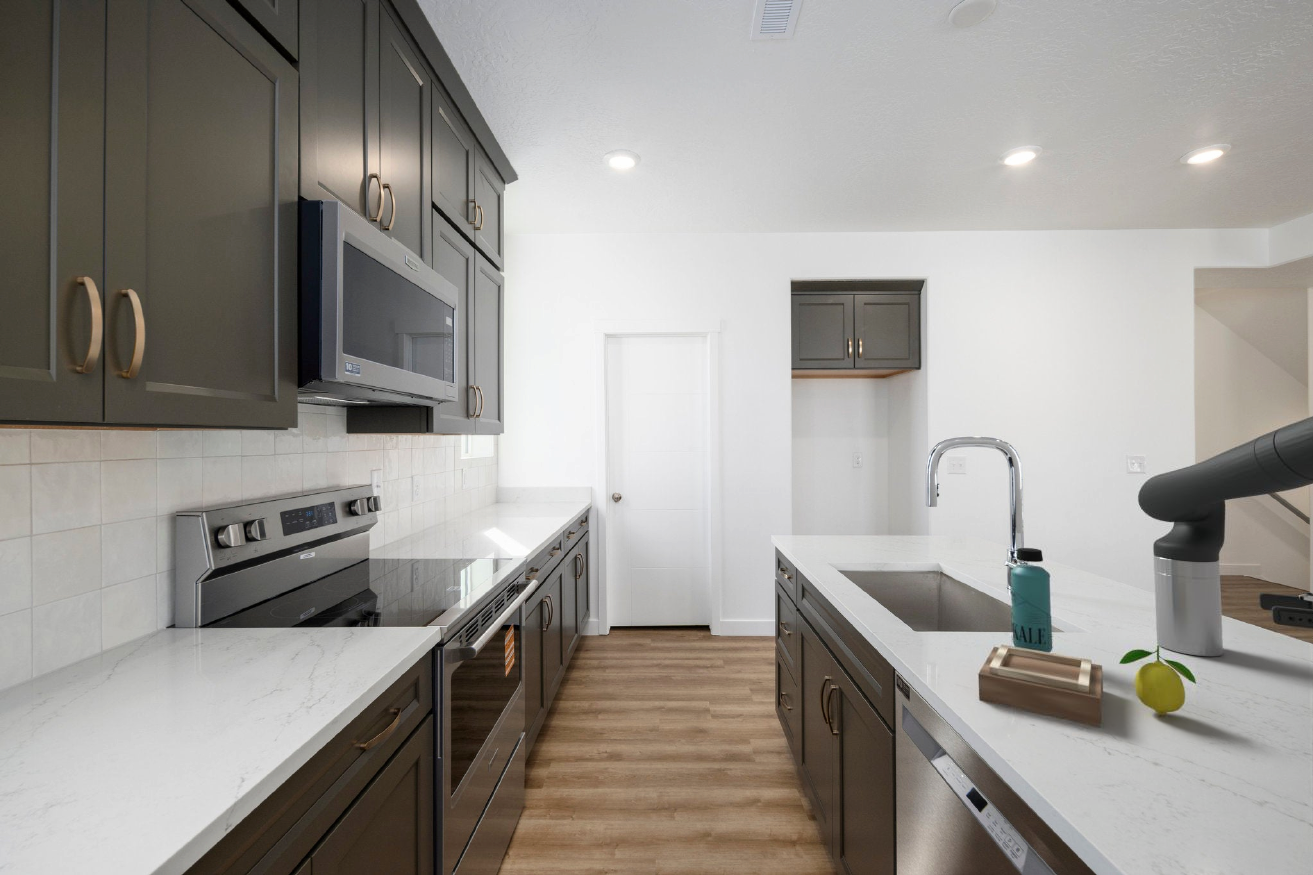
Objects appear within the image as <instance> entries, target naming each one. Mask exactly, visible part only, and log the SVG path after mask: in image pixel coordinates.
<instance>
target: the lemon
mask: <svg viewBox="0 0 1313 875" xmlns="http://www.w3.org/2000/svg"><path fill="white" fill-rule="evenodd" d="M1155 653H1156V660H1155V661H1153V662H1147V663H1145V664H1143V665H1141V666H1140V668H1139V669H1138V670H1137V672H1136V675H1135V678H1134V689H1135V693H1136V696H1137V698H1138V700H1139V701H1140V702H1141V703H1142V704H1143V705H1144V706H1146V707H1148V708H1150V709H1152V710H1154V711H1155V713H1157V715H1159V716H1165V715H1166V714H1167V713H1174V712H1176V711H1178V710H1180V709H1181V708H1183V706H1184V704H1185V702H1186V701H1185V700H1186V691H1185V687H1184V683H1183V681H1182V678H1181V677H1180V675H1181V676H1182V677H1184V678H1185V679H1187V680H1188V681H1190V682H1192V683H1193V684H1194V685H1196V684H1197V681H1196V678H1195V676H1194V674H1193V673H1192V671H1191V670H1190V669H1189V668H1188V667H1187V666H1185V665H1184V664H1182V663H1181V662H1178V661H1175V660H1170V659H1164V658H1163V657H1161V655H1160V645H1158V644H1157V645H1156V650H1155V651H1149V650H1145V649H1133V650H1129V651H1128V652H1127V653H1125V654H1124V655H1123V656H1122V658H1121V659H1120V661H1119V664H1120V665H1126V664H1132V663H1134V662H1137V661H1140V660H1142V659H1145V658H1147V657H1150V656H1151V655H1152V654H1155ZM1160 659H1162V661H1161V660H1160ZM1163 661H1164V662H1165V663H1166V664H1165V663H1163ZM1178 673H1179V674H1180V675H1179V674H1178Z"/></svg>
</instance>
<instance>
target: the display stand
mask: <svg viewBox="0 0 1313 875" xmlns="http://www.w3.org/2000/svg"><path fill="white" fill-rule="evenodd" d="M977 675H978V677H977V678H978V700H980V701H983V702H986V703H987V702H988V703H992V704H996V705H1001V706H1005V707H1010V708H1013V709H1017V710H1018V709H1019V710H1023V711H1028V712H1032V713H1035V714H1036V713H1037V714H1040V715H1044V716H1049V717H1054V718H1058V719H1062V720H1067V721H1070V722H1071V721H1072V722H1075V723H1081V724H1085V725H1088V726H1092V727H1098V728H1102V720H1103V719H1102V718H1103V717H1102V716H1103V715H1102V714H1103V698H1104V695H1103V694H1104V684H1103V682H1104V681H1103V665H1102V664H1096V663H1092V659H1088V658H1082V657H1077V656H1071V655H1065V654H1059V653H1053V652H1049V653H1048V652H1043V651H1037V650H1031V649H1025V648H1019V647H1015V646H1014V645H1013V646H1012V645H1007V644H1001V645H1000V646H998V647H997V646H993V647H992V649H991V651H990V654H988V657H987V658H986V660H985V662H984V663H983V665H982V666H981V669H980V670H979V672H978V673H977Z"/></svg>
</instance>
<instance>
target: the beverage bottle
mask: <svg viewBox="0 0 1313 875" xmlns="http://www.w3.org/2000/svg"><path fill="white" fill-rule="evenodd" d="M1016 560H1018V561H1021V562H1029V563H1030V562H1031V563H1040V562H1041V563H1042V562H1044V557H1043V551H1042V549H1040V548H1039V549H1038V548H1033V547H1020V548H1017V550H1016ZM1010 575H1011V577H1010V578H1011V579H1010V580H1011V581H1010V587H1011V588H1010V595H1011V596H1010V601H1011V612H1010V614H1011V631H1012V636H1011V639H1012V640H1011V641H1012V643H1013V647H1019V648H1025V649H1031V650H1037V651H1043V652H1048V653H1052V651H1053V648H1054V646H1053V645H1054V643H1053V642H1054V641H1053V637H1054V636H1053V623H1052V618H1053V617H1052V611H1051V610H1052V609H1051V606H1052V605H1051V578H1050V577H1051V574H1050V573H1049V571H1048V570H1046V569H1045V568H1044V567H1042V566H1040V565H1039V566H1038V565H1035V564H1034V565H1031V564H1018V565H1016V566H1015V567H1013V568H1012V569H1011V570H1010Z"/></svg>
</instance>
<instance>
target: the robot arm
mask: <svg viewBox="0 0 1313 875" xmlns="http://www.w3.org/2000/svg"><path fill="white" fill-rule="evenodd" d="M1312 484H1313V415H1312V416H1309V417H1307V418H1304V419H1302V420H1299V421H1296V422H1293V423H1290V424H1288V425H1285V426H1283V427H1280V428H1277V429H1275V430H1272V431H1270V432H1267V433H1266V434H1263V435H1260V436H1258V437H1256V438H1253V439H1252V440H1249V441H1247V442H1245V443H1242V444H1240V445H1238V446H1235V447H1234V448H1230V449H1228V450H1225V451H1223V452H1221V453H1219V454H1216V455H1214V456H1212V457H1210V458H1208V459H1205V460H1203V461H1201V462H1198V463H1196V464H1192V465H1189V466H1185V467H1182V468H1179V469H1174V470H1172V471H1168V472H1164V473H1161V474H1157V475H1154V476H1152V477H1150V478H1149V479H1147V480H1146V481H1145V482H1144V483H1143V484H1142V485H1141V487H1140V490H1139V492H1138V496H1137V501H1138V505H1139V507H1140V510H1142V511H1143V512H1144V513H1145V515H1147V516H1149V517H1150V518H1152V519H1154V520H1157V521H1160V522H1166V523H1173V526H1172V528H1171V530H1170V531H1169V532H1168V533H1166V534H1165V535H1164V536H1162V537H1160V538H1158V539H1156V540H1155V541H1154V542H1153V545H1152V546H1153V547H1152V548H1153V552H1152V553H1153V570H1154V571H1153V572H1154V592H1155V593H1154V596H1155V599H1154V600H1155V621H1156V622H1155V625H1156V627H1155V628H1156V643H1157V645H1159V647H1162V648H1163V649H1166V650H1170V651H1174V652H1175V653H1176V652H1177V653H1180V654H1187V655H1192V656H1193V655H1194V656H1201V657H1220V656H1222V655H1223V654H1224V646H1223V642H1224V641H1223V620H1222V619H1223V618H1222V615H1223V614H1222V613H1223V612H1222V595H1221V594H1222V593H1221V591H1222V590H1221V575H1220V552H1221V550H1222V548H1223V547H1224V544H1225V543H1224V542H1225V540H1226V539H1225V538H1226V530H1225V528H1226V501H1228V500H1235V499H1242V498H1248V497H1256V496H1263V495H1270V494H1275V493H1280V492H1286V491H1292V490H1296V489H1299V488H1303V487H1304V488H1305V487H1306V486H1309V485H1312ZM1258 596H1259V597H1258V601H1259V603H1258V604H1259V607H1260V608H1261V609H1262V610H1264V611H1271V620H1272V622H1273V623H1274V624H1275V625H1278V626H1286V627H1287V626H1288V627H1295V628H1304V629H1312V630H1313V592H1308V591H1307V592H1302V594H1298V595H1291V594H1281V593H1280V594H1279V593H1270V592H1261V593H1259V595H1258Z"/></svg>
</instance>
